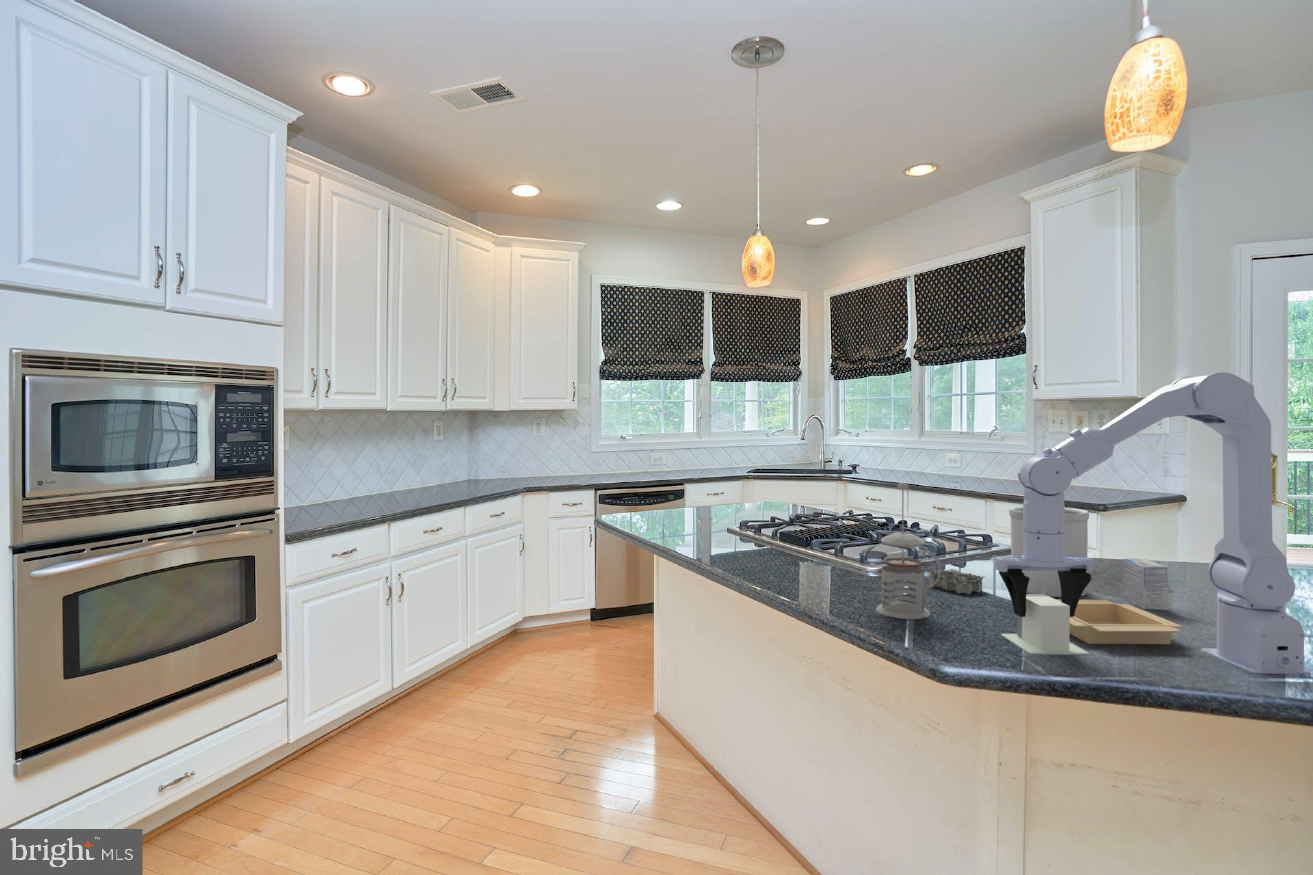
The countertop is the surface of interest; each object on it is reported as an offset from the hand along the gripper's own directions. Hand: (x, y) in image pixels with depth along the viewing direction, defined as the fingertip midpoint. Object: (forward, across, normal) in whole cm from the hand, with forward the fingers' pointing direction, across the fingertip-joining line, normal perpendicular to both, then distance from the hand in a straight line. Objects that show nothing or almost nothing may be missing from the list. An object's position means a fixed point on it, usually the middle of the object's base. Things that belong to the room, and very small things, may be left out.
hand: (1043, 615), depth 103 cm
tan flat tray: (+5, -14, -7) cm, 16 cm away
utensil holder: (+6, -21, -36) cm, 42 cm away
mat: (+5, 0, 0) cm, 5 cm away
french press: (+5, +15, -19) cm, 25 cm away
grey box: (+5, 0, 0) cm, 5 cm away
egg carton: (+6, -2, -38) cm, 38 cm away
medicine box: (+6, -33, -24) cm, 41 cm away
